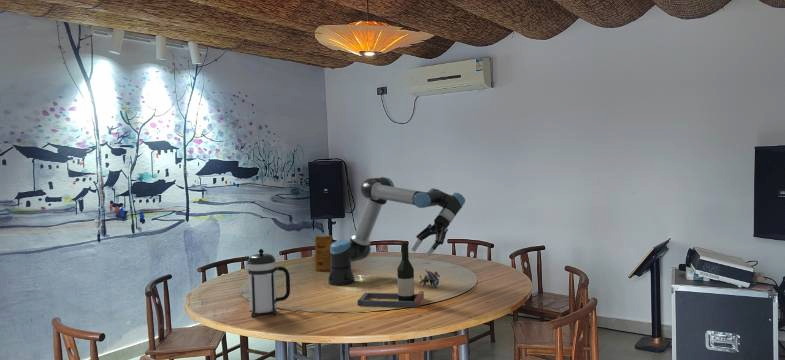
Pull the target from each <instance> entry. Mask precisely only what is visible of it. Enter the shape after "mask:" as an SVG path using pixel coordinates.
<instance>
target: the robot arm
mask: <svg viewBox="0 0 785 360" xmlns="http://www.w3.org/2000/svg"><path fill="white" fill-rule="evenodd" d="M394 184H395V183H394V182H393V180H392V179H390V178H389V177H384V176H382V177H381V176H380V177H370V178H367V179H365V180H363V182H362V183H361V185H360V193H361V195H362V196H363V197H364V198H365V199H367V202H366V205H365V208H364V211H363V213H362V216H361V218H360V221H359V224H358V225H357V228H356V231H355V233H354V234H352V235H351V237H350V240H348V239H342V240H337V241H334V242H332V244H331V246H330V259H331V270H329V271H330V272H329V275H328V278H327V283H328V284H329V285H333V286H347V285H352V284H353V283H355V281H356V279H355V275H354V273H353V270H352V269H353V268H352V262H357V261H361V260H363V259H366V258H368V256H369V255H370V253H371V250H372V249H371V240H370V236H371V234H372V231H373V229H374V227H375V224H376V223H377V219H378V216H379V215H380V212H381V210H382V207H383V206H384V205H386V204H387V201H390V202H396V203H400V204H406V205H412V206H416V207H417V208H419V209H420V208H421V209H425V208H429V207H435V206H436V207H437V206H438V207H440V208H442V209H441V210H440V212H439V213H438V215H436V217H435V218H434V220H433V221H434V223H433V224H432V223H429V224H428V225H427V226H426V227H425V228H424V229H422V230H421V231H420V232H419V233H418V234H416V236H415V237H416V240H415V242H414V244H412V246H411V247H410V249H411V251H412V252H414V253H415V252H416V251H417V250H418V248H419V247H420V246H421V244H422V243H423V241H424V240H426V239H427V238H428V237H430V236H433V235H435V240H434V241H433V242H432V244H431V245H430V246H429V248H428V249H427V251H426V254H427V255H428V256H429V257H431V256H432V255H433V253H434V252H435V251H436V249H437V248H438V247H439V246H440V245H443V244H444V242H445V239H446V236H447V232H448V230H449V229H448V227H449V226H450V224H451V223H452V222H453V220H454V219H455V217H456V216H457V214H458V213H459V211H461V209H462V208H463V206H465V205H464V204H465V203H466V198H465V197H464V195H462V194H461V193H460V192H454V193H453V194H449V193H446V192H444V191H442V190H440V189H437V188H435V187H432V188H430V189H429V190H428V191H419V190H414V189H408V188H401V187H398V186H395V185H394Z"/></svg>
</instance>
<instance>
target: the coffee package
mask: <svg viewBox="0 0 785 360" xmlns="http://www.w3.org/2000/svg"><path fill="white" fill-rule="evenodd" d="M332 240H333V236H332V235H324V236H321V235H315V239H314V242H315V245H314V246H315V249H314V252H315V253H314V257H313V265H314V271H315V272H320V271H323V272H325V271H328V272H329V271H331V259H330V246H331V244H332V243H333V241H332Z"/></svg>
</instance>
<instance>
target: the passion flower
mask: <svg viewBox="0 0 785 360" xmlns="http://www.w3.org/2000/svg"><path fill="white" fill-rule="evenodd" d="M425 272H426V274H425V275H424V279H423V278H422V276H421V275H420V276H419V279H420V280H421V281H419V284H422V287H424V286H425V285H426V283H427V284H430V286H432V285H433V286H434V288H435V289H439V287H440V286H439V285H440V284H439V283H440V279H439V278H440V277H441V276H440V274H439V273H438V272H437V271H434V272H433V271H431V270H427V269H425Z"/></svg>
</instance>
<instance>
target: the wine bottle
mask: <svg viewBox="0 0 785 360" xmlns="http://www.w3.org/2000/svg"><path fill="white" fill-rule="evenodd" d="M409 255H410V254H409V242H408V240H402V242H401V261H400V263H399V264H398V266H397V272H396V273H397V293H398V299H397V301H415V298H414V294H415V272H414V271H415V270H414V267H413V265H412V263H411V261H410V260H409Z"/></svg>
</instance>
